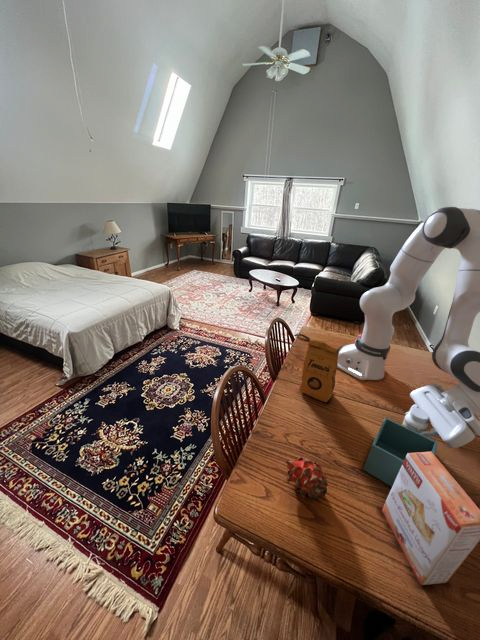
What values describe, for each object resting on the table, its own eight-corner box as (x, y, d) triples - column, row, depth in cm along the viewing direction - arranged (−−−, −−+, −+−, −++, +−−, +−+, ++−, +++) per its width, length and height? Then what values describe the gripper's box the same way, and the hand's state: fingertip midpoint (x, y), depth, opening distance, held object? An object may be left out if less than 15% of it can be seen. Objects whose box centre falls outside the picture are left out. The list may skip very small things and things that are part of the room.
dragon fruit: (323, 512, 65) (285, 481, 74) (339, 479, 68) (301, 453, 77) (312, 506, 60) (273, 473, 69) (330, 471, 63) (290, 443, 71)
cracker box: (379, 510, 65) (405, 451, 56) (402, 509, 65) (432, 449, 57) (419, 587, 52) (461, 526, 43) (447, 584, 53) (495, 523, 44)
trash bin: (363, 469, 75) (372, 444, 70) (376, 440, 84) (385, 417, 80) (417, 502, 67) (430, 476, 63) (425, 466, 76) (437, 442, 72)
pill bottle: (417, 435, 87) (429, 409, 82) (422, 450, 81) (435, 423, 77) (396, 429, 88) (406, 403, 84) (399, 444, 83) (410, 417, 78)
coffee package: (326, 407, 96) (338, 355, 87) (295, 392, 103) (303, 343, 93) (335, 393, 103) (348, 344, 94) (306, 380, 110) (314, 333, 101)
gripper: (431, 375, 86) (392, 396, 91) (478, 424, 68) (426, 448, 72) (441, 387, 88) (401, 407, 93) (489, 438, 69) (437, 460, 74)
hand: (412, 425), depth 82 cm, fingers closed on pill bottle, 6 cm apart
